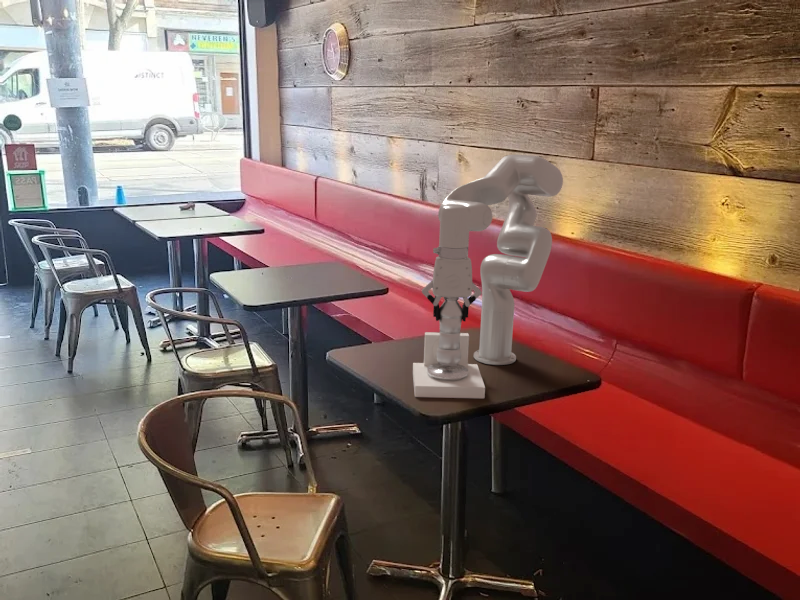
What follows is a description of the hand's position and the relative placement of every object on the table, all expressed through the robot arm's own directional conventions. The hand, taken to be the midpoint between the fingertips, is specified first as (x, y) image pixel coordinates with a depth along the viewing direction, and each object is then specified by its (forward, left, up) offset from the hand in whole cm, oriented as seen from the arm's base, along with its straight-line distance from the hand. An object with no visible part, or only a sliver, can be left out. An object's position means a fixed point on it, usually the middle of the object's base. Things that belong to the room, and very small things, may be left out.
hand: (450, 319), depth 198 cm
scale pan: (0, 0, -15) cm, 15 cm away
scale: (0, 0, -18) cm, 18 cm away
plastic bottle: (0, 0, -13) cm, 13 cm away
